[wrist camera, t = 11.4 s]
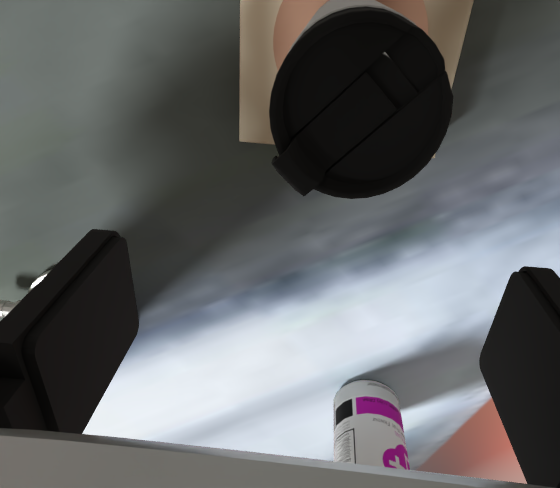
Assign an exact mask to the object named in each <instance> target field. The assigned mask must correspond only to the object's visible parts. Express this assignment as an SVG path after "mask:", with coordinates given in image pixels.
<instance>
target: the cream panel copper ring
mask: <svg viewBox="0 0 560 488" xmlns="http://www.w3.org/2000/svg"><path fill="white" fill-rule="evenodd" d="M327 1H329V0H240V120H239V141H241V142H252V143H264V144H275V143H274V140H273V136H272V133H271V129H270V118H269V106H270V97H271V91H272V88H273V84H274V81H275V78H276V74H277V72H278V71H279V69H280V67H281V65H282V63H283V61H284V59H285V57H286V56H287V54H288V52H289V50H290V48H291V46H292V44H293V43H294V42H295V40H296V39H297V38H298V36H299V35H300V34H301V32H302V31H303V29H304V28H305V27H306V25H307V24H308V23H309V21H310V20H311V18H312V17H313V16H314V14H315V13H316V12H317V11H318V9H319V8H320V7H321V6H323V5H324V4H325V3H326V2H327ZM376 1H378V2H380V3H382V4H383V5H385V6H387V7H389V8H391V9H393V10H395V11H397V12H399V13H401V14H402V15H404V16H405V17H407V18H408V19H410V20H411V21H413V22H414V23H415V24H416V25H417V26H418V27H419V28H421V29H422V30H423V31H424V32H425V33H426V34H427V35H428V36H429V37H430V38H431V39H432V40H433V41H434V43H435V44H436V46H437V47H438V49H439V51H440V53H441V54H442V56H443V58H444V61H445V71H446V72H447V74H448V78H449V82H450V86H451V89H452V85H453V81H454V77H455V73H456V69H457V65H458V61H459V57H460V53H461V49H462V45H463V41H464V37H465V33H466V29H467V25H468V21H469V17H470V13H471V9H472V5H473V1H474V0H376ZM434 157H435V154H434V156H433V157H432V158H434Z"/></svg>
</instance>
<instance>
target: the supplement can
mask: <svg viewBox="0 0 560 488" xmlns="http://www.w3.org/2000/svg"><path fill="white" fill-rule="evenodd" d="M334 461H336V462H344V463H353V464H362V465H371V466H379V467H388V468H397V469H405V470H410V468H409V461H408V455H407V449H406V443H405V437H404V431H403V424H402V418H401V412H400V406H399V400H398V397H397V396H396V394H395V392H394V391H393V390H391V389H390V388H389V387H388V386H386V385H384V384H382V383H379V382H377V381H373V380H358V381H353V382H351V383H349V384H346V385H345V386H343V387H342V388H341V389H340V390H339V391H338V392H337V393H336V395H335V398H334Z"/></svg>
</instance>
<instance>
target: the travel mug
mask: <svg viewBox="0 0 560 488" xmlns="http://www.w3.org/2000/svg"><path fill="white" fill-rule="evenodd" d="M452 104H453V94H452V90H451V86H450V82H449V78H448V74H447V72H446V71H445V61H444V58H443V56H442V54H441V53H440V51H439V49H438V47H437V46H436V44H435V43H434V41H433V40H432V39H431V38H430V37H429V36H428V35H427V34H426V33H425V32H424V31H423V30H422V29H421V28H419V27H418V26H417V25H416V24H415V23H414V22H413V21H411V20H410V19H408V18H407V17H405V16H404V15H402V14H401V13H399V12H397V11H395V10H393V9H391V8H389V7H387V6H385V5H383V4H382V3H380V2H378V1H376V0H329V1H327V2H326V3H325V4H324V5H323V6H321V7H320V8H319V9H318V11H317V12H316V13H315V14H314V16H313V17H312V18H311V20H310V21H309V23H308V24H307V25H306V27H305V28H304V29H303V31H302V32H301V34H300V35H299V36H298V38H297V39H296V40H295V42H294V43H293V44H292V46H291V48H290V50H289V52H288V54H287V56H286V57H285V59H284V61H283V63H282V65H281V67H280V69H279V71H278V72H277V74H276V78H275V81H274V84H273V88H272V91H271V97H270V106H269V118H270V129H271V133H272V136H273V140H274V143H275V145H276V148H277V150H278V153H279V155H280V156H279V157H277V156H275V157H274V158H273V160H272V165H273V166H274V168H275V169H276V171H277V172H278V173H279V174H280V175H281V176H282V177H283V178H284V179H285V180H286V181H287V182H288V183H289V184H290V185H291V186H292V187H293V188H294V189H295V190H296V191H298V192H299V193H300V194H301V195H303V196H305V195H306V194H308V193H309V192H310V191H311V190H313V189H315V190H317V191H319V192H322V193H324V194H328V195H331V196H334V197H340V198H349V199H355V198H368V197H372V196H376V195H380V194H384V193H386V192H389V191H391V190H393V189H395V188H398V187H400V186H401V185H403V184H404V183H406V182H407V181H409V180H410V179H412V178H413V177H414V176H415V175H416V174H418V173H419V172H420V171H421V170H422V169H423V168H424V167H425V166H426V165H427V164H428V162H429V161H430V160H431V158H432V157H433V156H434V154H435V153H436V152H437V150H438V149H439V147H440V145H441V143H442V141H443V139H444V137H445V135H446V132H447V129H448V125H449V122H450V118H451V114H452Z"/></svg>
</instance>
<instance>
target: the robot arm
mask: <svg viewBox="0 0 560 488" xmlns="http://www.w3.org/2000/svg"><path fill="white" fill-rule="evenodd" d="M0 317H4V318H3V319H2V320H1V321H0V488H560V278H559V277H558V275H557V274H556V273H555V272H554V271H553V270H552V269H548V268H537V267H526V266H525V267H522V268H521V269H520V270H519V272H513V273H512V274H511V276H510V279H509V281H508V284H507V286H506V289H505V292H504V294H503V297H502V299H501V302H500V305H499V307H498V310H497V312H496V315H495V318H494V320H493V323H492V325H491V328H490V331H489V333H488V336H487V339H486V341H485V344H484V346H483V349H482V352H481V354H480V360H479V363H480V369H481V372H482V374H483V377H484V379H485V382H486V384H487V387H488V389H489V392H490V394H491V396H492V399H493V401H494V403H495V406H496V409H497V411H498V413H499V416H500V418H501V420H502V423H503V425H504V428H505V430H506V433H507V435H508V438H509V440H510V443H511V445H512V447H513V450H514V452H515V455H516V457H517V460H518V462H519V464H520V467H521V469H522V471H523V474H524V476H525V479H526V481H527V484H522V483H514V482H505V481H497V480H489V479H481V478H471V477H464V476H456V475H446V474H439V473H430V472H421V471H413V470H405V469H397V468H388V467H379V466H371V465H362V464H353V463H344V462H336V461H327V460H318V459H309V458H300V457H291V456H283V455H274V454H265V453H256V452H247V451H238V450H229V449H220V448H210V447H201V446H192V445H183V444H173V443H164V442H155V441H145V440H136V439H127V438H117V437H108V436H97V435H86V434H82V433H83V431H84V429H85V427H86V426H87V424H88V422H89V420H90V418H91V417H92V415H93V413H94V411H95V409H96V407H97V406H98V404H99V402H100V400H101V398H102V397H103V395H104V393H105V391H106V389H107V388H108V386H109V384H110V382H111V380H112V379H113V377H114V375H115V373H116V371H117V369H118V368H119V366H120V364H121V362H122V360H123V359H124V357H125V355H126V353H127V351H128V350H129V348H130V346H131V344H132V342H133V341H134V339H135V337H136V335H137V332H138V327H139V319H138V313H137V306H136V300H135V293H134V287H133V280H132V274H131V267H130V261H129V254H128V248H127V242H126V240H125V238H123V237H120V235H119V234H118V232H116V231H109V230H98V229H92V230H91V231H89V232H88V233H87V234H86V235H85V236H84V237H83V238H82V239H81V240H80V241H79V242H78V243H77V245H76V246H75V247H74V248H73V249H72V250H71V251H70V252H69V253H68V254H67V255H66V256H65V257H64V258H63V259H62V260H61V261H60V262H59V263H58V264H57V265H56V266H55V267H54V268H53V269H51V270H49V271H46V272H44V273H43V274H42V275H40V276H39V277H38V278H37V279H36V280H35V281H34V282H33V283H32V285H31V286H30V288H29V291H28V294H27V295H26V296H25V297H24V298H23V299H22V300H19V301H17V302H16V303H13V302H10V301H4V300H0Z"/></svg>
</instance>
